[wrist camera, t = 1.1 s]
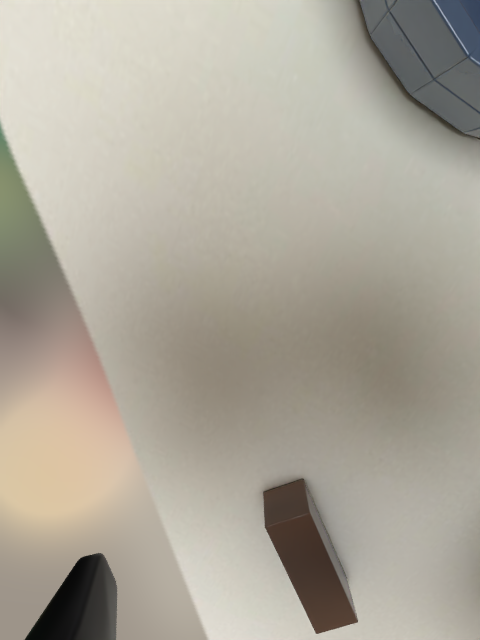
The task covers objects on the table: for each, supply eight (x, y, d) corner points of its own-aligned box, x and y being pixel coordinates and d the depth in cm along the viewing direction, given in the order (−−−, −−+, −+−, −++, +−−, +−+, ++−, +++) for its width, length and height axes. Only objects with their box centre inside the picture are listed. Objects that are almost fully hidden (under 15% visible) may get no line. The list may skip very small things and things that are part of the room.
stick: (347, 580, 23) (358, 622, 21) (309, 591, 23) (316, 634, 21) (303, 478, 21) (309, 512, 19) (262, 491, 22) (264, 527, 19)
